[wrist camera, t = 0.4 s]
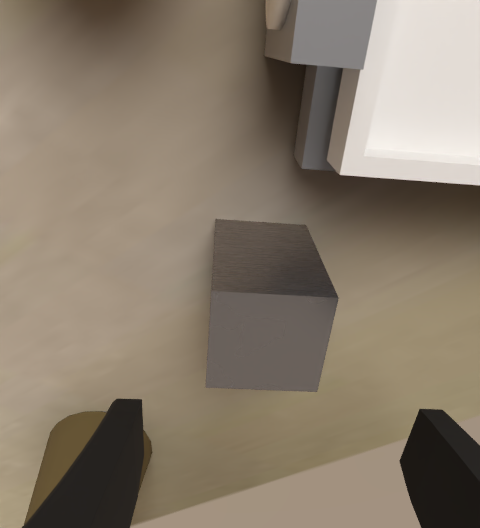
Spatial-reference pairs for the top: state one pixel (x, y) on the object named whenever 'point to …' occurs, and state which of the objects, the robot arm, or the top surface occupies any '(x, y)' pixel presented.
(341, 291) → the top surface
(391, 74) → the kitchen scale
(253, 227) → the steel block
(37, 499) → the cork
